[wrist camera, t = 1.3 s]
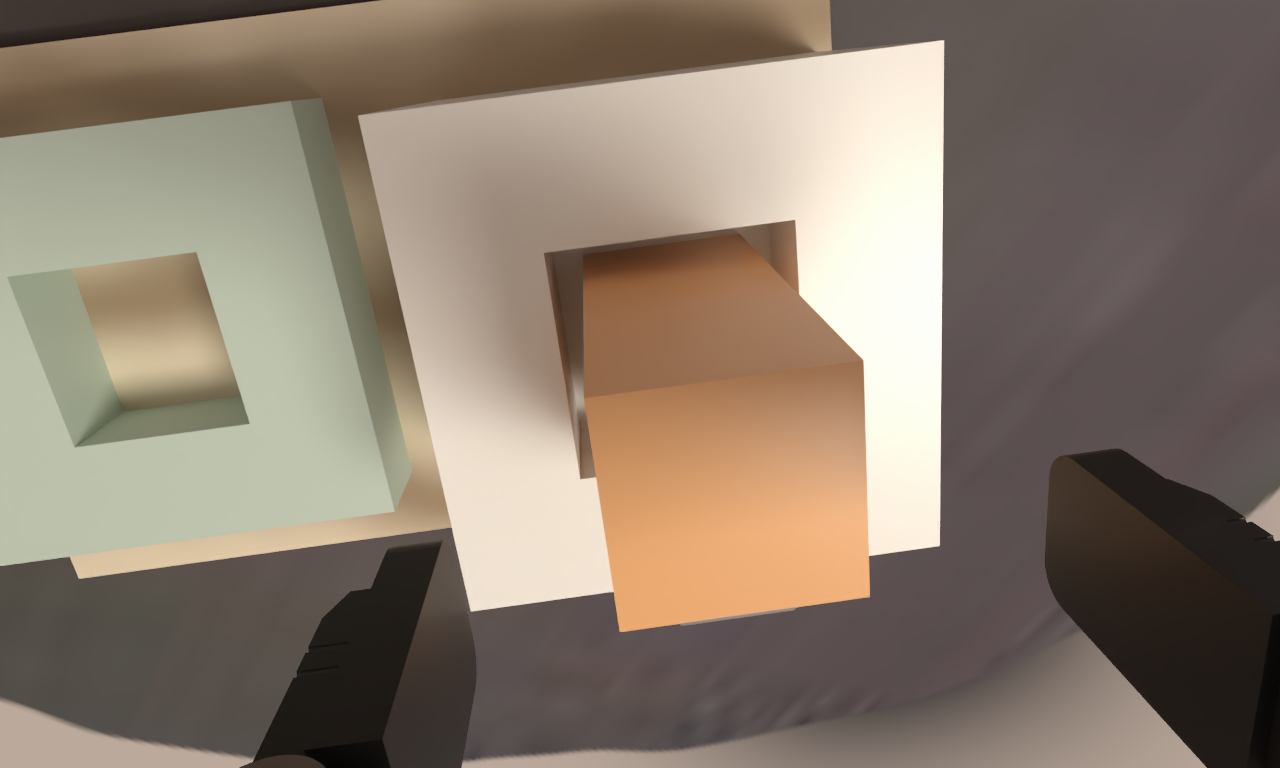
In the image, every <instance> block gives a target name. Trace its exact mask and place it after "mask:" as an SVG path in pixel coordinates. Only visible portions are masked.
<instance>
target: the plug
mask: <svg viewBox="0 0 1280 768" xmlns="http://www.w3.org/2000/svg"><path fill="white" fill-rule="evenodd" d="M583 341H584V403H585V409H586V416H587V422H588V428H589V435H590V441H591V448H592V454H593V461H594V467H595V474H596V480H597V487H598V493H599V500H600V506H601V513H602V519H603V525H604V532H605V538H606V545H607V551H608V558H609V564H610V571H611V577H612V584H613V590H614V597H615V603H616V610H617V616H618V622H619V629H620V632H624V631H631V630H638V629H646V628H653V627H660V626H667V625H674V624H681V626H684V625H691V624H699V623H706V622H713V621H720V620H727V619H734V618H741V617H748V616H755V615H762V614H769V613H777V612H784V611H791V610H795V607H802V606H809V605H816V604H823V603H830V602H837V601H844V600H851V599H858V598H865V597H870V583H869V545H868V507H867V469H866V431H865V392H864V360H863V359H862V358H861V357H860V356H859V355H858V354H857V353H856V352H855V351H854V350H853V349H852V348H851V347H850V346H849V345H848V344H847V343H846V342H845V341H844V340H843V339H842V338H841V337H840V336H839V335H838V334H837V333H836V332H835V331H834V330H833V329H832V328H831V327H830V326H829V325H828V324H827V323H826V322H825V320H824V319H823V318H822V317H821V316H820V315H819V314H818V313H817V312H816V311H815V310H814V309H813V308H812V307H811V306H810V305H809V304H808V303H807V302H806V301H805V300H804V299H803V298H802V297H801V296H800V295H799V294H798V293H797V292H796V291H795V290H794V289H793V288H792V287H791V286H790V285H789V284H788V283H787V282H786V281H785V280H784V279H783V278H782V277H781V276H780V275H779V274H778V273H777V272H776V271H775V269H774V268H773V267H772V266H771V265H770V264H769V263H768V262H767V261H766V260H765V259H764V258H763V257H762V256H761V255H760V254H759V253H758V252H757V251H756V250H755V249H754V248H753V247H752V246H751V245H750V244H749V243H748V242H747V241H746V240H745V239H744V238H743V237H742V236H741V235H740V234H734V235H727V236H719V237H711V238H704V239H696V240H689V241H681V242H674V243H666V244H659V245H651V246H643V247H636V248H628V249H621V250H613V251H606V252H598V253H590V254H583Z"/></svg>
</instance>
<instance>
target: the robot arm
mask: <svg viewBox="0 0 1280 768" xmlns="http://www.w3.org/2000/svg"><path fill="white" fill-rule="evenodd" d="M1045 568H1046V574H1047V578H1048V582H1049V585H1050V588H1051V590H1052V592H1053V595H1054V596H1055V598H1056V600H1057V602H1058V603H1059V605H1060V606H1061V607H1062V609H1063V610H1064V611H1065V612H1066V613H1067V614H1068V615H1069V616H1070V617H1071V618H1072V620H1073V621H1074V622H1075V623H1076V624H1077V625H1078V626H1079V627H1080V628H1081V629H1082V631H1083V632H1084V633H1085V634H1086V635H1087V636H1088V637H1089V638H1090V639H1091V640H1092V641H1093V643H1094V644H1095V645H1096V646H1097V647H1098V648H1099V649H1100V650H1101V651H1102V652H1103V654H1104V655H1105V656H1106V657H1107V658H1108V659H1109V660H1110V661H1111V662H1112V664H1113V665H1114V666H1116V668H1117V669H1118V670H1119V671H1120V672H1121V674H1122V675H1124V677H1125V678H1126V679H1127V680H1128V681H1129V682H1130V683H1131V685H1133V687H1134V688H1135V689H1136V690H1137V691H1138V692H1139V693H1140V694H1141V695H1142V697H1143V698H1144V699H1145V700H1146V701H1147V702H1148V703H1149V704H1150V705H1151V707H1152V708H1153V709H1154V710H1155V711H1156V712H1157V713H1158V714H1159V715H1160V716H1161V718H1162V719H1163V720H1164V721H1165V722H1166V723H1167V724H1168V725H1169V726H1170V727H1171V729H1172V730H1173V731H1174V732H1175V733H1176V734H1177V735H1178V736H1179V737H1180V738H1181V740H1182V741H1183V742H1184V743H1185V744H1186V745H1187V746H1188V747H1189V748H1190V749H1191V751H1192V752H1193V753H1194V754H1195V755H1196V756H1197V757H1198V758H1199V759H1200V760H1201V762H1202V763H1203V764H1204V765H1205V766H1206V767H1207V768H1280V541H1274V539H1273V535H1271V534H1269V533H1268V532H1266V531H1265V530H1263V529H1262V528H1260V527H1259V526H1257V525H1256V524H1254V523H1253V522H1248V523H1247V522H1246V520H1245V517H1244V516H1242V515H1241V514H1239V513H1238V512H1236V511H1235V510H1233V509H1232V508H1230V507H1229V506H1227V505H1226V504H1224V503H1223V502H1221V501H1220V500H1218V499H1216V498H1215V497H1213V496H1212V495H1209V494H1207V493H1204V492H1201V491H1199V490H1196V489H1193V488H1191V487H1188V486H1185V485H1182V484H1180V483H1177V482H1174V481H1172V480H1169V479H1165V478H1163V477H1162V476H1160V475H1159V474H1158V473H1156V472H1155V471H1153V470H1152V469H1150V468H1149V467H1147V466H1146V465H1144V464H1143V463H1141V462H1140V461H1139V460H1137V459H1136V458H1134V457H1133V456H1131V455H1130V454H1128V453H1127V452H1125V451H1123V450H1121V449H1108V450H1101V451H1094V452H1087V453H1080V454H1072V455H1065V456H1060V457H1058V458H1057V459H1055V461H1054V462H1053V464H1052V466H1051V470H1050V476H1049V493H1048V511H1047V529H1046V547H1045ZM308 648H309V653H305V655H304V657H303V659H302V661H301V663H300V666H299V668H298V670H297V677H296V678H293V680H292V682H291V684H290V686H289V688H288V690H287V692H286V694H285V697H284V699H283V701H282V703H281V705H280V707H279V709H278V711H277V713H276V715H275V717H274V719H273V721H272V723H271V725H270V728H269V730H268V732H267V734H266V736H265V738H264V740H263V742H262V744H261V746H260V748H259V750H258V752H257V754H256V756H255V759H254V761H253V762H252V763H249V764H247V765H244V766H242V767H240V768H461V766H462V760H463V755H464V749H465V743H466V738H467V732H468V726H469V721H470V715H471V710H472V704H473V698H474V693H475V686H476V656H475V647H474V641H473V636H472V631H471V627H470V623H469V618H468V614H467V609H466V605H465V601H464V596H463V592H462V588H461V583H460V579H459V574H458V570H457V566H456V561H455V557H454V553H453V550H452V548H451V545H450V544H449V542H448V541H447V540H441V541H434V542H427V543H420V544H413V545H405V546H398V547H391V548H389V549H388V550H387V552H386V554H385V556H384V559H383V561H382V563H381V566H380V568H379V571H378V573H377V575H376V578H375V580H374V583H373V585H372V587H371V589H365V590H358V591H351V592H349V593H348V594H347V595H346V596H345V597H344V598H343V599H342V600H341V601H340V602H339V603H338V604H337V605H336V606H335V607H334V608H333V609H332V610H331V611H330V612H328V613H327V614H326V615H325V616H324V617H323V618H322V620H321V622H320V624H319V626H318V628H317V630H316V632H315V635H314V637H313V639H312V641H311V643H310V645H309V647H308Z"/></svg>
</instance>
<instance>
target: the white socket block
mask: <svg viewBox="0 0 1280 768" xmlns="http://www.w3.org/2000/svg"><path fill="white" fill-rule="evenodd" d="M943 106H944V40H941V41H930V42H919V43H908V44H897V45H886V46H875V47H864V48H853V49H842V50H831V51H820V52H811V53H803V54H795V55H787V56H780V57H772V58H764V59H756V60H748V61H741V62H733V63H725V64H717V65H710V66H702V67H694V68H686V69H678V70H671V71H663V72H655V73H647V74H639V75H632V76H624V77H616V78H608V79H600V80H593V81H585V82H577V83H569V84H561V85H554V86H546V87H538V88H530V89H522V90H515V91H507V92H499V93H491V94H483V95H476V96H468V97H460V98H452V99H445V100H437V101H432V102H426V103H421V104H416V105H411V106H405V107H400V108H395V109H390V110H384V111H379V112H374V113H368V114H363V115H358V119H359V124H360V128H361V132H362V137H363V141H364V145H365V150H366V154H367V159H368V163H369V167H370V172H371V176H372V180H373V185H374V189H375V194H376V198H377V202H378V207H379V211H380V215H381V220H382V224H383V229H384V233H385V237H386V242H387V246H388V250H389V255H390V259H391V264H392V268H393V272H394V277H395V281H396V285H397V290H398V294H399V299H400V303H401V307H402V312H403V316H404V321H405V325H406V329H407V334H408V338H409V342H410V347H411V351H412V356H413V360H414V364H415V369H416V373H417V377H418V382H419V386H420V391H421V395H422V399H423V404H424V408H425V412H426V417H427V421H428V426H429V430H430V434H431V439H432V443H433V447H434V452H435V456H436V461H437V465H438V469H439V474H440V478H441V482H442V487H443V491H444V496H445V500H446V504H447V509H448V513H449V517H450V522H451V526H452V531H453V535H454V539H455V544H456V548H457V553H458V557H459V561H460V566H461V570H462V574H463V579H464V583H465V588H466V592H467V596H468V601H469V605H470V609H471V611H478V610H485V609H493V608H500V607H507V606H514V605H521V604H528V603H535V602H543V601H550V600H557V599H564V598H571V597H578V596H585V595H593V594H600V593H607V592H614V590H613V584H612V577H611V571H610V564H609V558H608V551H607V545H606V538H605V532H604V525H603V519H602V513H601V506H600V500H599V493H598V487H597V480H596V474H595V467H594V461H593V454H592V448H591V441H590V435H589V428H588V422H587V416H586V409H585V403H584V341H583V254H590V253H598V252H606V251H613V250H621V249H628V248H636V247H643V246H651V245H659V244H666V243H674V242H681V241H689V240H696V239H704V238H711V237H719V236H727V235H734V234H740V235H741V236H742V237H743V238H744V239H745V240H746V241H747V242H748V243H749V244H750V245H751V246H752V247H753V248H754V249H755V250H756V251H757V252H758V253H759V254H760V255H761V256H762V257H763V258H764V259H765V260H766V261H767V262H768V263H769V264H770V265H771V266H772V267H773V268H774V269H775V271H776V272H777V273H778V274H779V275H780V276H781V277H782V278H783V279H784V280H785V281H786V282H787V283H788V284H789V285H790V286H791V287H792V288H793V289H794V290H795V291H796V292H797V293H798V294H799V295H800V296H801V297H802V298H803V299H804V300H805V301H806V302H807V303H808V304H809V305H810V306H811V307H812V308H813V309H814V310H815V311H816V312H817V313H818V314H819V315H820V316H821V317H822V318H823V319H824V320H825V322H826V323H827V324H828V325H829V326H830V327H831V328H832V329H833V330H834V331H835V332H836V333H837V334H838V335H839V336H840V337H841V338H842V339H843V340H844V341H845V342H846V343H847V344H848V345H849V346H850V347H851V348H852V349H853V350H854V351H855V352H856V353H857V354H858V355H859V356H860V357H861V358H862V359H863V360H864V392H865V431H866V469H867V507H868V545H869V556H871V555H878V554H885V553H892V552H900V551H907V550H914V549H921V548H928V547H935V546H940V454H941V338H942V222H943Z"/></svg>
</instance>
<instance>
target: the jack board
mask: <svg viewBox="0 0 1280 768" xmlns="http://www.w3.org/2000/svg"><path fill="white" fill-rule="evenodd" d="M831 50H832V48H831V20H830V0H380V1H372V2H364V3H356V4H348V5H340V6H332V7H324V8H316V9H308V10H300V11H292V12H284V13H276V14H268V15H260V16H253V17H245V18H237V19H229V20H221V21H213V22H205V23H197V24H189V25H181V26H173V27H165V28H157V29H149V30H141V31H133V32H125V33H117V34H110V35H102V36H94V37H86V38H78V39H70V40H62V41H54V42H46V43H38V44H30V45H22V46H14V47H6V48H0V138H4V137H12V136H20V135H28V134H36V133H44V132H51V131H59V130H67V129H75V128H83V127H90V126H98V125H106V124H114V123H122V122H130V121H137V120H145V119H153V118H161V117H169V116H177V115H184V114H192V113H200V112H208V111H216V110H223V109H231V108H239V107H247V106H255V105H263V104H270V103H278V102H286V101H295V100H305V99H316V98H322V100H323V104H324V108H325V112H326V116H327V120H328V125H329V129H330V133H331V137H332V141H333V145H334V149H335V154H336V158H337V162H338V166H339V170H340V174H341V178H342V183H343V187H344V191H345V195H346V199H347V203H348V208H349V212H350V216H351V220H352V224H353V228H354V232H355V237H356V241H357V245H358V249H359V253H360V257H361V261H362V266H363V270H364V274H365V278H366V282H367V286H368V290H369V295H370V299H371V303H372V307H373V311H374V315H375V319H376V324H377V328H378V332H379V336H380V340H381V344H382V349H383V353H384V357H385V361H386V365H387V369H388V373H389V378H390V382H391V386H392V390H393V394H394V398H395V402H396V407H397V411H398V415H399V419H400V423H401V427H402V431H403V436H404V440H405V444H406V448H407V452H408V456H409V460H410V465H411V469H412V473H411V475H410V478H409V480H408V482H407V485H406V487H405V489H404V492H403V494H402V496H401V499H400V501H399V503H398V506H397V508H396V511H395V512H389V513H382V514H375V515H368V516H360V517H353V518H346V519H339V520H331V521H324V522H317V523H309V524H302V525H295V526H288V527H280V528H273V529H266V530H259V531H251V532H244V533H237V534H229V535H222V536H215V537H208V538H200V539H193V540H186V541H179V542H171V543H164V544H157V545H149V546H142V547H135V548H128V549H120V550H113V551H106V552H99V553H91V554H84V555H77V556H70V558H71V561H72V563H73V566H74V568H75V570H76V573H77V575H78V578H79V579H81V578H88V577H95V576H103V575H110V574H117V573H124V572H132V571H139V570H146V569H153V568H161V567H168V566H175V565H182V564H190V563H197V562H204V561H211V560H218V559H226V558H233V557H240V556H247V555H255V554H262V553H269V552H276V551H284V550H291V549H298V548H305V547H313V546H320V545H327V544H334V543H342V542H349V541H356V540H363V539H371V538H378V537H385V536H392V535H400V534H407V533H414V532H421V531H429V530H436V529H443V528H450V527H452V526H451V522H450V517H449V513H448V509H447V504H446V500H445V496H444V491H443V487H442V482H441V478H440V474H439V469H438V465H437V461H436V456H435V452H434V447H433V443H432V439H431V434H430V430H429V426H428V421H427V417H426V412H425V408H424V404H423V399H422V395H421V391H420V386H419V382H418V377H417V373H416V369H415V364H414V360H413V356H412V351H411V347H410V342H409V338H408V334H407V329H406V325H405V321H404V316H403V312H402V307H401V303H400V299H399V294H398V290H397V285H396V281H395V277H394V272H393V268H392V264H391V259H390V255H389V250H388V246H387V242H386V237H385V233H384V229H383V224H382V220H381V215H380V211H379V207H378V202H377V198H376V194H375V189H374V185H373V180H372V176H371V172H370V167H369V163H368V159H367V154H366V150H365V145H364V141H363V137H362V132H361V128H360V124H359V119H358V115H363V114H368V113H374V112H379V111H384V110H390V109H395V108H400V107H405V106H411V105H416V104H421V103H426V102H432V101H437V100H445V99H452V98H460V97H468V96H476V95H483V94H491V93H499V92H507V91H515V90H522V89H530V88H538V87H546V86H554V85H561V84H569V83H577V82H585V81H593V80H600V79H608V78H616V77H624V76H632V75H639V74H647V73H655V72H663V71H671V70H678V69H686V68H694V67H702V66H710V65H717V64H725V63H733V62H741V61H748V60H756V59H764V58H772V57H780V56H787V55H795V54H803V53H811V52H820V51H831ZM71 270H72V273H73V275H74V278H75V281H76V284H77V286H78V289H79V292H80V294H81V297H82V300H83V303H84V305H85V308H86V311H87V313H88V316H89V319H90V322H91V324H92V327H93V330H94V333H95V335H96V338H97V341H98V343H99V346H100V349H101V352H102V354H103V357H104V360H105V363H106V365H107V368H108V371H109V373H110V376H111V379H112V382H113V384H114V387H115V390H116V392H117V395H118V398H119V401H120V403H121V406H122V409H123V411H130V410H138V409H145V408H153V407H160V406H168V405H175V404H182V403H190V402H197V401H205V400H212V399H220V398H227V397H235V396H241V394H240V391H239V387H238V384H237V381H236V378H235V375H234V371H233V368H232V365H231V362H230V359H229V355H228V352H227V349H226V346H225V342H224V339H223V336H222V333H221V330H220V326H219V323H218V320H217V317H216V314H215V310H214V307H213V304H212V301H211V297H210V294H209V291H208V288H207V285H206V281H205V278H204V275H203V272H202V268H201V265H200V262H199V259H198V256H197V252H193V253H185V254H178V255H170V256H162V257H155V258H147V259H139V260H132V261H124V262H116V263H109V264H101V265H94V266H86V267H78V268H71Z"/></svg>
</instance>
